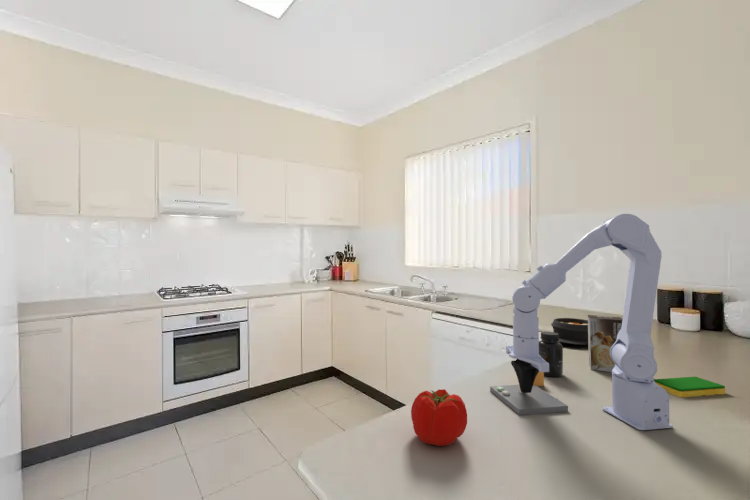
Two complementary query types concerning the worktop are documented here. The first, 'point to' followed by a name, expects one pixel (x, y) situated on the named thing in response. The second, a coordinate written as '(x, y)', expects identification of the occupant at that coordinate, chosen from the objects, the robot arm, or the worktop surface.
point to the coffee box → (602, 341)
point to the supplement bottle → (551, 353)
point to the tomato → (438, 417)
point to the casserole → (571, 330)
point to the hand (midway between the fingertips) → (525, 391)
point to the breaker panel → (528, 400)
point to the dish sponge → (690, 386)
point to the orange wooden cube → (539, 379)
